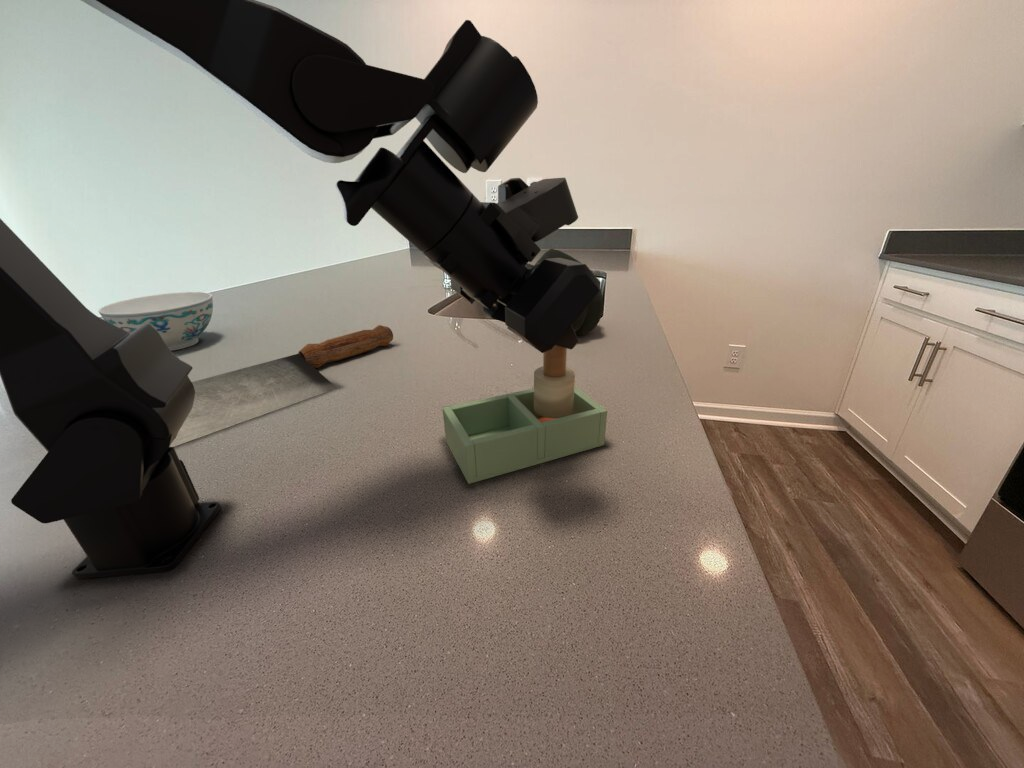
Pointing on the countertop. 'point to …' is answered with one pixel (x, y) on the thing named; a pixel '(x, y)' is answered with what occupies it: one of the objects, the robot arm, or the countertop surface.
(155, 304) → the chinaware
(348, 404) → the countertop surface
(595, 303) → the squash
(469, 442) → the green divided tray
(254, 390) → the meat cleaver
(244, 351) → the countertop surface
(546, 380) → the dish brush
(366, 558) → the countertop surface
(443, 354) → the countertop surface
